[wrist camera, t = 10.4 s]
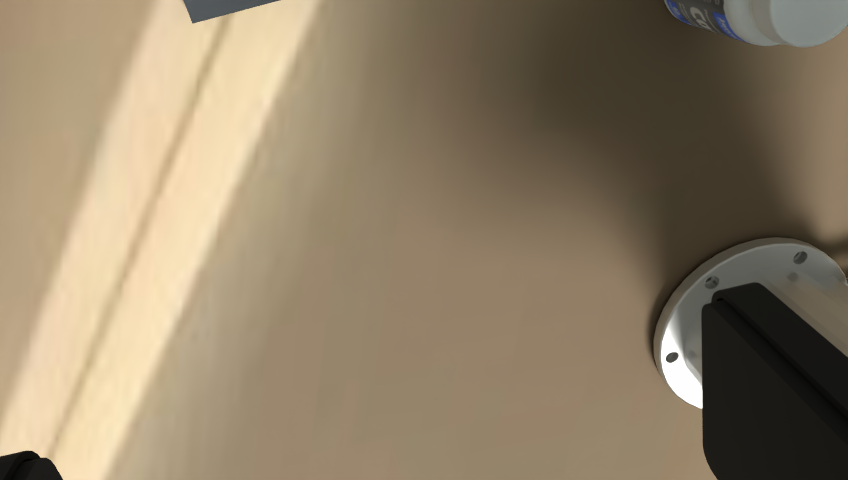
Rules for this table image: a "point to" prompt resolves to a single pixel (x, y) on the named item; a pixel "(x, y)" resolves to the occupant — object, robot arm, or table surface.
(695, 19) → the pill bottle
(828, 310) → the robot arm
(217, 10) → the hub plate
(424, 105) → the table surface
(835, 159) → the table surface
